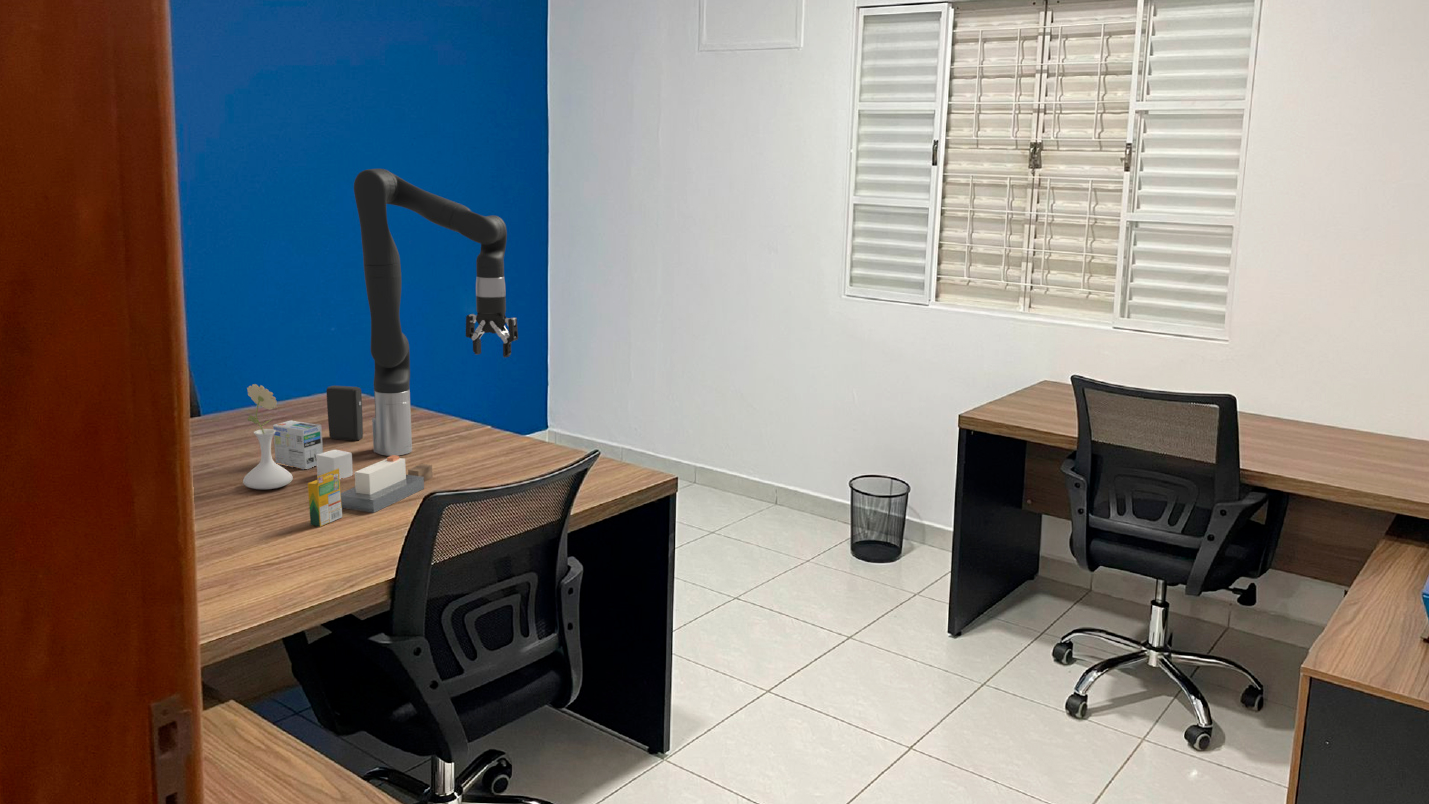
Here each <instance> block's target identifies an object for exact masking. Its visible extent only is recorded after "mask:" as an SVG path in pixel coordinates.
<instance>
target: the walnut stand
mask: <svg viewBox="0 0 1429 804" xmlns="http://www.w3.org/2000/svg"><path fill="white" fill-rule="evenodd" d="M407 475H413V476H421V477H424V482H426V481H428V480H430V479H432V478H433V465H432V464H428V463H427V464H426V463H421V464H418V465H416V466H413V467H411V468H409V469H407ZM429 478H430V479H429Z"/></svg>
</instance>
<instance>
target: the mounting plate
mask: <svg viewBox="0 0 1429 804" xmlns="http://www.w3.org/2000/svg"><path fill="white" fill-rule="evenodd" d="M424 489H425V481H424V477H421V476H413V475H408V474H406V479H404V480H402V481H400V482H397V483H395V484H393V485H391V486H389V487H386V488H384V489H382V490H380V491H378V492H375V493H373V494H371V495H368V494H361V493H356V488H355V486H354V487H352V488H350V489H347V490H344V491H342V492H341V506H342V509H345V508H346V510H354V511H358V512H359V511H360V512H366V513H367V512H368V513H373V514H374V513H377V512H378V511H381V510H382V509H385V508H387V507H390V506H391V505H394V504H395V503H398V502H400V501H401V500H404V499H405V498H407V497H409V496H412V495H413V494H415V493H418V492H420V491H422V490H424Z"/></svg>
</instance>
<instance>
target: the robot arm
mask: <svg viewBox="0 0 1429 804" xmlns="http://www.w3.org/2000/svg"><path fill="white" fill-rule="evenodd" d="M353 194H354V198H355V199H354V200H355V204H356V209H357V214H358V220H359V225H360V236H361V248H362V258H363V261H362V262H363V272H364V281H365V282H364V283H365V289H366V295H367V301H368V306H369V307H368V308H369V313H370V355H371V357H372V359H373V361H374V374H373V375H374V377H373V394H374V395H373V399H374V413H375V414H374V417H372V419H371V422H372V423H371V424H372V425H371V426H372V440H373V441H372V442H373V443H372V444H373V446H372V447H373V453H376V454H378V455H381V456H387V457H389V456H392V455H396V456H402V455H407V454H410V453H412V452H413V441H412V416H411V392H410V383H411V381H410V380H411V360H410V359H411V356H410V355H411V354H410V344H409V340H408V338H407V336H406V334H404V332H402V325H401V318H400V315H401V314H400V308H401V298H402V297H401V296H402V270H401V269H402V268H401V266H402V265H401V257H400V253H399V251H398V250H399V249H398V248H397V245H396V243H395V241H394V238H393V235H392V234H391V232H390V228H389V223H388V212H387V205H392V206H396V207H401V208H404V209H408V210H410V211H412V212H414V213H416V214H418V215H420V216H421V217H422V218H424V219H426V220H427V221H429V222H431V223H433V224H435V225H437V226H440V227H443V228H446V229H448V230H450V231H453V232H457V233H458V234H460V235H461V236H463V237H465V238H467V239H469V240H470V241H473V242H475V243H478V244H480V251H479V254H478V255H477V256H476V265H475V266H476V267H475V268H476V280H475V303H476V305H475V306H476V307H475V309H476V312H477V314H475V313H471V314H467V315H466V316H465V338H468V339H470V340H472V351H473V353H474V355H477V356H478V355H480V354H482V339H481V337H482V336H483V335H484V334H488V333H490V334H496V335H497V336H498V337H499V338H500V339H501V341H502V342H503V343H502V358H509V357H510V356H511V354H512V342H515V341H518V339H519V331H518V330H519V329H518V319H517V317H510V318H508V317H507V316H506V312H507V305H506V304H507V300H506V299H507V298H506V293H507V292H506V281H505V261H504V259H505V255H506V254H505V253H506V248H507V239H508V238H507V237H508V233H507V232H508V231H507V225H506V223H505V222H504V220H503V218H501V217H499V216H498V215H487V216H485V215H482V214H479V213H476V212H473V211H472V210H471V209H470V208H469V207H467V206H466V205H463V204H462V203H458V202H456V201H453V200H450V199H448V198H444V197H442V196H439V195H437V194H434V193H431V192H429V191H426V190H424V189H423V188H420V187H418V186H416V185H414V184H412V183H410V182H408V181H406V180H404V179H403V178H401V177H399V176H398V175H397V174H394V173H393V172H390V170H388V169H384V168H371V169H364V170H362V171H360V172H359V173H358V174H357V175H356V177H355V179H354V182H353ZM476 322H477V324H478V326H477V327H475V326H476ZM506 326H507V327H508V329H507V328H506Z"/></svg>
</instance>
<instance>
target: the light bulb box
mask: <svg viewBox="0 0 1429 804" xmlns="http://www.w3.org/2000/svg"><path fill="white" fill-rule="evenodd" d="M272 429H273V430H276V432H275V433H274V435H273V445H274V446H273V447H274V456H275V458H274V459H275V463H281V464H285V465H288V466H294V467H298V468H301V469H300V470H304V469H307V470H309V469H312V467H313V468H315V467H314V466H316V467H317V459H316V455H317V454H321V453H324V447H323V431H322V424H317V423H311V422H305V421H304V422H303V421H295V420H292V419H291V420H287V421H283V422H281V423H276V424H273V425H272ZM298 468H297V469H298Z"/></svg>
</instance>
